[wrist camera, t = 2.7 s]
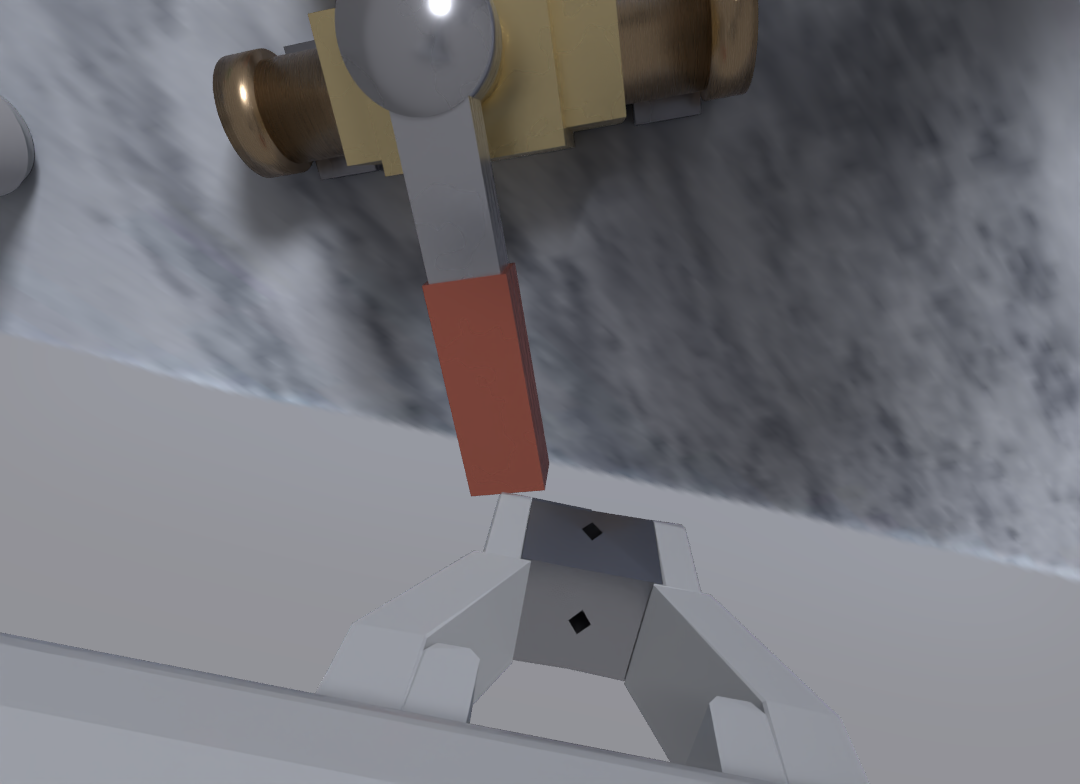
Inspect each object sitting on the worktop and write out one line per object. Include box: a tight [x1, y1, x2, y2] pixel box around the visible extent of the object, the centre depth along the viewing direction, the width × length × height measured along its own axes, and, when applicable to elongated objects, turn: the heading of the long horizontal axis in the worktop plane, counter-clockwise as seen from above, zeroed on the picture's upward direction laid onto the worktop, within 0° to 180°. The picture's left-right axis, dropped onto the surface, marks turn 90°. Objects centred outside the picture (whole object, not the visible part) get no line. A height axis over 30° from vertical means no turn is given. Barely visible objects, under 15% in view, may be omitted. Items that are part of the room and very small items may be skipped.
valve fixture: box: [213, 0, 758, 180], centre depth 23 cm, size 22×7×11 cm, turn 99°
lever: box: [335, 0, 549, 496], centre depth 19 cm, size 17×4×2 cm, turn 9°
